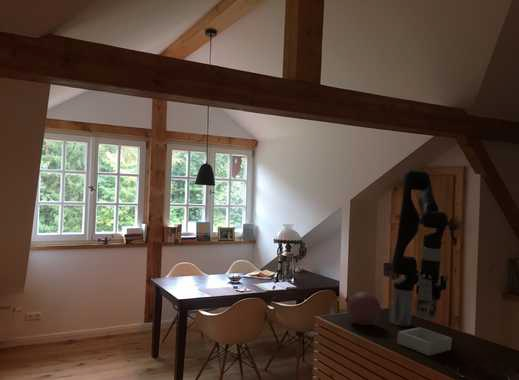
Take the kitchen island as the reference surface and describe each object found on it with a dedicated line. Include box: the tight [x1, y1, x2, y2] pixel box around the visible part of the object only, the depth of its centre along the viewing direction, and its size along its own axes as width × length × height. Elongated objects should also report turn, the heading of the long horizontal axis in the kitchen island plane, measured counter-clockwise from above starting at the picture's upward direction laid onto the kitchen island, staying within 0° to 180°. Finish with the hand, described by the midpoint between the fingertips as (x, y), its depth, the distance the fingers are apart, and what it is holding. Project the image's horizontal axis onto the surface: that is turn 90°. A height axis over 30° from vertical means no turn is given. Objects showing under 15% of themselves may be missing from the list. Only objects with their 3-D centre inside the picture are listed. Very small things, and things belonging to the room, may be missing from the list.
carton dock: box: [396, 326, 453, 357], centre depth 186 cm, size 15×16×5 cm
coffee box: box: [416, 277, 440, 321], centre depth 186 cm, size 9×6×16 cm
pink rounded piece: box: [344, 291, 382, 326], centre depth 212 cm, size 15×20×15 cm
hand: (427, 297), depth 186 cm, fingers closed on coffee box, 8 cm apart
